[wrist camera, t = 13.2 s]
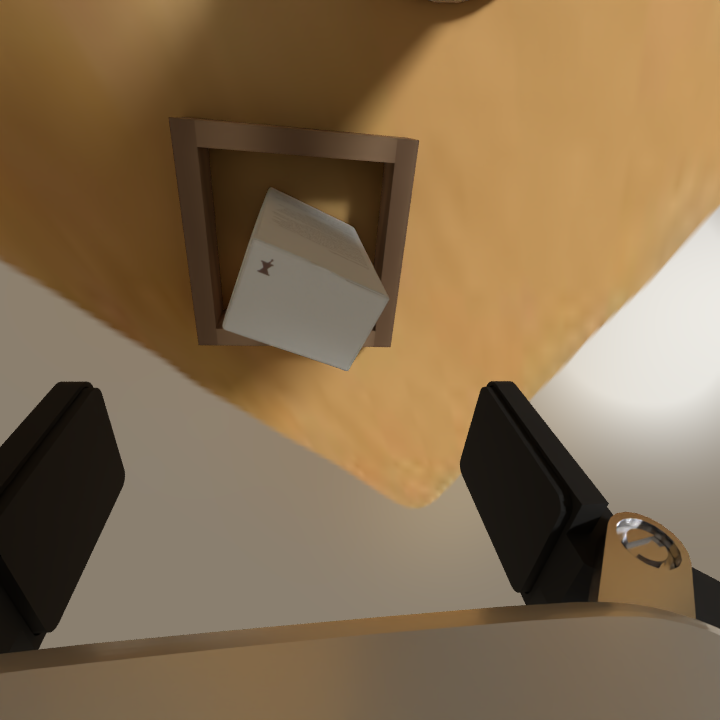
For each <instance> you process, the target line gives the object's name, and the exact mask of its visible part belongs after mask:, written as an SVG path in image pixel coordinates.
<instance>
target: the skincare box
mask: <svg viewBox="0 0 720 720" xmlns="http://www.w3.org/2000/svg"><path fill="white" fill-rule="evenodd" d="M388 301H389V297H388V295H387V293H386V291H385V289H384V287H383V285H382V283H381V281H380V279H379V277H378V275H377V273H376V271H375V269H374V267H373V265H372V263H371V261H370V259H369V257H368V255H367V253H366V251H365V249H364V247H363V245H362V243H361V241H360V239H359V237H358V234H357V233H356V230H355V229H354V227H353V226H351V225H349V224H347V223H345V222H342V221H340V220H338V219H336V218H334V217H332V216H330V215H328V214H326V213H324V212H322V211H320V210H318V209H316V208H314V207H312V206H310V205H307V204H305V203H303V202H301V201H299V200H297V199H295V198H293V197H291V196H289V195H287V194H285V193H283V192H280V191H278V190H276V189H274V188H272V187H270V188H269V189H268V191H267V194H266V197H265V199H264V202H263V204H262V207H261V210H260V212H259V215H258V218H257V221H256V223H255V226H254V229H253V232H252V235H251V238H250V241H249V244H248V247H247V250H246V253H245V256H244V259H243V262H242V265H241V268H240V271H239V275H238V278H237V281H236V284H235V287H234V290H233V293H232V296H231V299H230V302H229V305H228V308H227V311H226V314H225V317H224V321H223V325H222V326H223V329H224V330H227V331H230V332H233V333H236V334H238V335H241V336H244V337H247V338H250V339H253V340H256V341H259V342H262V343H265V344H268V345H271V346H274V347H277V348H280V349H283V350H286V351H289V352H292V353H295V354H298V355H301V356H304V357H307V358H310V359H313V360H316V361H319V362H322V363H325V364H328V365H331V366H334V367H336V368H339V369H342V370H344V371H348V370H349V369H350V367H351V365H352V363H353V362H354V360H355V358H356V356H357V355H358V353H359V351H360V350H361V348H362V346H363V344H364V343H365V341H366V339H367V337H368V336H369V334H370V332H371V331H372V329H373V327H374V325H375V324H376V322H377V320H378V318H379V317H380V315H381V313H382V311H383V310H384V308H385V306H386V304H387V303H388Z"/></svg>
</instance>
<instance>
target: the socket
mask: <svg viewBox="0 0 720 720" xmlns="http://www.w3.org/2000/svg"><path fill="white" fill-rule="evenodd" d="M169 123H170V131H171V139H172V146H173V154H174V161H175V169H176V177H177V184H178V192H179V199H180V207H181V214H182V222H183V230H184V237H185V245H186V252H187V260H188V267H189V275H190V283H191V290H192V298H193V305H194V313H195V320H196V328H197V336H198V343H199V345H239V346H271V345H268V344H265V343H262V342H259V341H256V340H253V339H250V338H247V337H244V336H241V335H238V334H236V333H233V332H230V331H227V330H224V329H223V326H222V325H223V321H224V317H225V314H226V311H227V310H223V300H222V289H221V278H220V267H219V257H218V246H217V235H216V224H215V213H214V203H213V192H212V181H211V170H210V159H209V149H208V148H216V149H229V150H241V151H253V152H265V153H277V154H290V155H302V156H314V157H326V158H339V159H351V160H363V161H375V162H384V171H383V181H382V191H381V201H380V210H379V220H378V230H377V239H376V249H375V259H374V269H375V271H376V273H377V275H378V277H379V279H380V281H381V283H382V285H383V287H384V289H385V291H386V293H387V295H388V297H389V301H388V303H387V304H386V306H385V308H384V310H383V311H382V313H381V315H380V317H379V318H378V320H377V322H376V324H375V325H374V327H373V329H372V331H371V332H370V334H369V336H368V337H367V339H366V341H365V343H364V344H363V346H362V347H391V340H392V332H393V325H394V318H395V311H396V304H397V296H398V289H399V282H400V275H401V268H402V260H403V253H404V246H405V239H406V231H407V224H408V217H409V210H410V203H411V195H412V188H413V181H414V174H415V167H416V159H417V152H418V145H419V140H415V139H410V138H404V137H393V136H382V135H371V134H361V133H350V132H339V131H328V130H317V129H306V128H296V127H285V126H274V125H263V124H252V123H241V122H230V121H220V120H209V119H198V118H187V117H170V118H169Z"/></svg>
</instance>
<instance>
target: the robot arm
mask: <svg viewBox="0 0 720 720" xmlns="http://www.w3.org/2000/svg"><path fill="white" fill-rule="evenodd" d="M430 1H433V2H447V3H459V2H463V1H467V0H430ZM460 470H461V473H462V476H463V478H464V480H465V483H466V485H467V487H468V489H469V491H470V494H471V496H472V498H473V501H474V503H475V505H476V507H477V510H478V512H479V514H480V516H481V518H482V521H483V523H484V525H485V528H486V530H487V532H488V534H489V536H490V539H491V541H492V543H493V546H494V548H495V550H496V552H497V555H498V557H499V559H500V561H501V563H502V566H503V568H504V570H505V572H506V575H507V577H508V579H509V581H510V584H511V586H512V587H513V589H514V590H515V591H516V592H518V593H519V592H520V593H521V595H522V597H523V600H524V602H525V604H526V605H521V606H506V607H493V608H481V609H470V610H459V611H446V612H434V613H422V614H411V615H399V616H387V617H376V618H364V619H353V620H343V621H330V622H320V623H308V624H297V625H286V626H276V627H264V628H253V629H243V630H232V631H220V632H210V633H200V634H189V635H179V636H168V637H158V638H146V639H136V640H126V641H115V642H105V643H94V644H84V645H75V646H67V647H57V648H48V649H40V650H38V649H39V647H40V645H41V643H42V641H43V639H44V637H45V635H46V633H47V632H52V631H53V630H54V629H55V628H56V627H57V625H58V623H59V622H60V619H61V617H62V615H63V613H64V610H65V609H66V607H67V605H68V602H69V600H70V598H71V596H72V594H73V592H74V589H75V587H76V585H77V583H78V581H79V579H80V577H81V575H82V572H83V570H84V568H85V566H86V564H87V562H88V560H89V558H90V555H91V553H92V551H93V549H94V547H95V545H96V543H97V540H98V538H99V536H100V534H101V532H102V530H103V528H104V525H105V523H106V521H107V519H108V517H109V515H110V513H111V510H112V508H113V506H114V504H115V502H116V500H117V498H118V496H119V493H120V491H121V489H122V487H123V484H124V480H125V471H124V467H123V464H122V461H121V457H120V454H119V450H118V447H117V444H116V440H115V437H114V433H113V430H112V426H111V423H110V420H109V416H108V413H107V409H106V406H105V403H104V399H103V396H102V393H101V391H100V390H99V389H98V388H93V386H92V385H91V383H89V382H59V383H57V384H56V385H55V386H54V387H53V388H52V389H51V390H50V392H49V393H48V394H47V395H46V396H45V397H44V398H43V400H41V402H40V403H39V404H38V405H37V406H36V408H35V409H34V410H33V411H32V412H31V413H30V414H29V415H28V416H27V417H26V419H25V420H24V421H23V422H22V423H21V424H20V425H19V426H18V428H17V429H16V430H15V431H14V432H13V433H12V434H11V435H10V437H9V438H8V439H7V440H6V441H5V442H4V444H2V446H1V447H0V720H720V582H719V581H717V580H716V579H714V578H712V577H710V576H708V575H706V574H704V573H702V572H700V571H698V570H696V569H694V568H693V567H692V565H691V560H690V556H689V553H688V551H687V550H686V548H685V547H684V545H683V544H682V542H681V541H680V540H679V539H678V538H677V537H676V536H675V535H674V534H673V533H672V532H671V531H669V530H668V529H667V528H665V527H664V526H662V525H661V524H659V523H658V522H656V521H654V520H652V519H650V518H648V517H645V516H643V515H640V514H637V513H630V512H622V513H617V514H615V515H613V514H612V513H611V512H610V510H609V509H608V508H607V506H608V504H609V503H608V502H607V501H606V499H605V498H604V497H603V496H602V494H601V493H600V492H599V490H598V489H597V488H596V487H595V485H594V484H593V483H592V481H591V480H590V479H589V478H588V476H587V475H586V474H585V473H584V471H583V470H582V469H581V467H580V466H579V465H578V464H577V462H576V461H575V460H574V459H573V457H572V456H571V455H570V454H569V452H568V451H567V450H566V448H565V447H564V446H563V445H562V443H561V442H560V441H559V439H558V438H557V437H556V436H555V434H554V433H553V432H552V431H551V429H550V428H549V427H548V425H547V424H546V423H545V422H544V420H543V419H542V418H541V417H540V415H539V414H538V413H537V411H536V410H535V409H534V408H533V407H532V405H531V404H530V402H529V401H528V400H527V399H526V397H525V396H524V395H523V394H522V392H521V391H520V390H519V388H518V387H517V386H516V385H515V384H514V383H513V382H511V381H491V382H489V383H488V384H487V387H483V388H482V389H481V391H480V394H479V397H478V401H477V404H476V408H475V411H474V415H473V418H472V422H471V425H470V428H469V432H468V435H467V439H466V442H465V446H464V449H463V453H462V456H461V460H460Z"/></svg>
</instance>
